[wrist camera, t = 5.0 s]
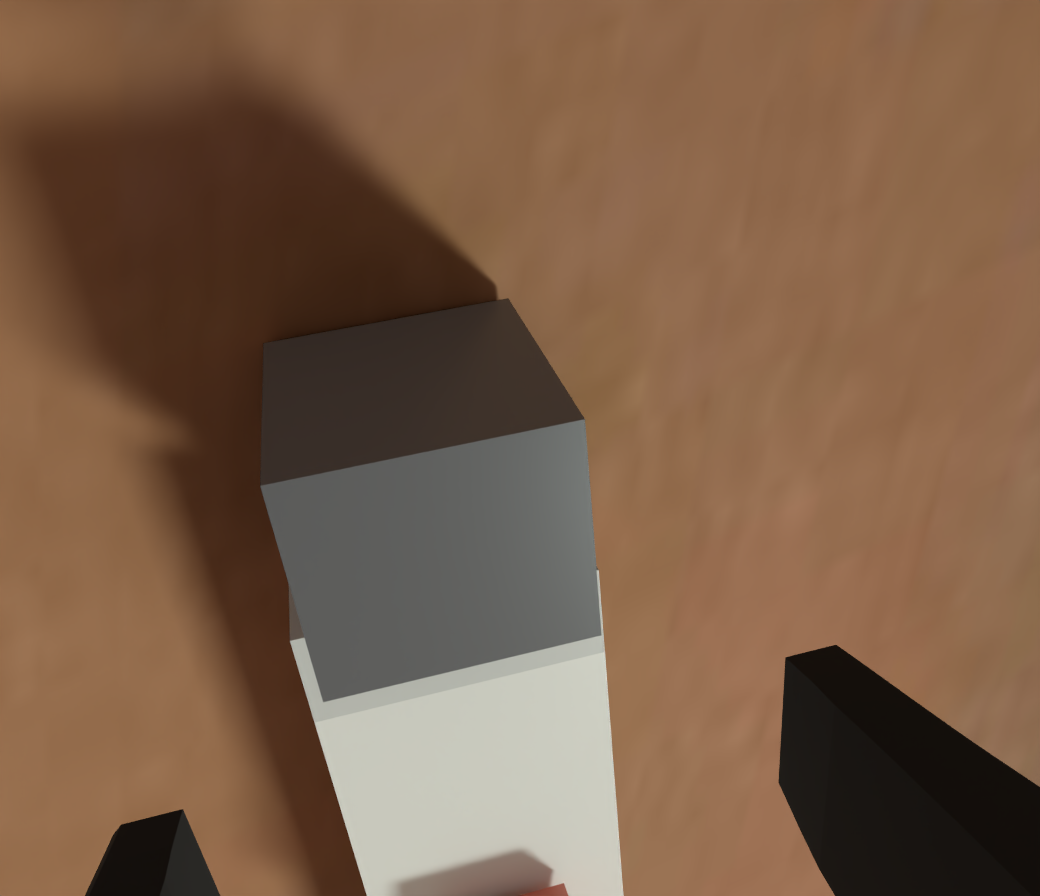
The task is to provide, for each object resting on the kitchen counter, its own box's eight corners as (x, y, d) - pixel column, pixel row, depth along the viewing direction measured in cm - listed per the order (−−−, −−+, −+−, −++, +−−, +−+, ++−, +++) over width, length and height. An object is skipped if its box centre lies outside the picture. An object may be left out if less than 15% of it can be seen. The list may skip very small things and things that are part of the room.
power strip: (287, 538, 19) (290, 664, 16) (553, 481, 20) (608, 590, 16) (413, 984, 27) (433, 1128, 24) (598, 931, 28) (641, 1063, 25)
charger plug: (264, 343, 17) (260, 485, 12) (508, 298, 17) (585, 419, 13) (332, 603, 20) (348, 789, 15) (538, 556, 20) (608, 723, 16)
